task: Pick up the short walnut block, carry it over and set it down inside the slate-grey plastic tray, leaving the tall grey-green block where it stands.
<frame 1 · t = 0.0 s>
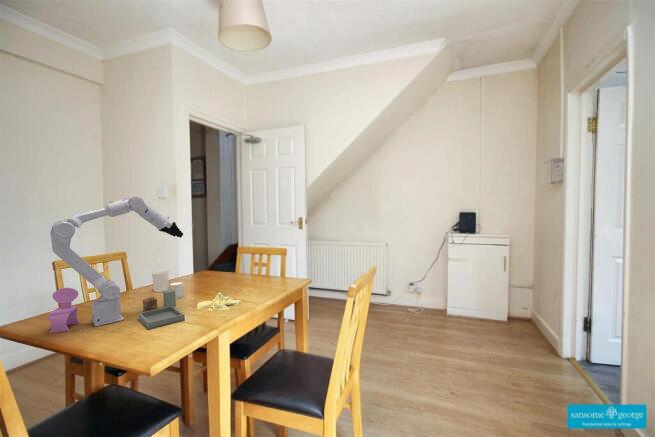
hand: (179, 235, 145), 32 cm above the table, tool tilted 50°, fingers open, 7 cm apart
tray: (161, 319, 127), on the table
tall block: (169, 306, 145), on the table
shot glass: (177, 297, 158), on the table
white cup: (161, 290, 172), on the table
toy chair: (65, 328, 120), on the table
cloth: (220, 306, 145), on the table
short block: (150, 310, 139), on the table
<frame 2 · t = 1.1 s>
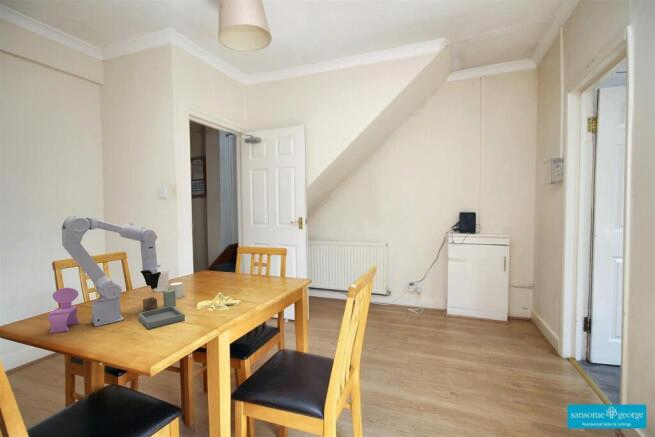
hand: (151, 286, 139), 10 cm above the table, tool pointing down, fingers open, 7 cm apart
nothing on the table moved.
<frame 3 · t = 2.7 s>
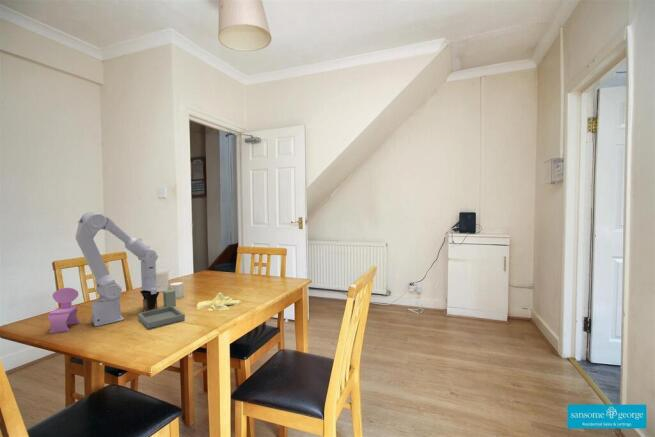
hand: (150, 307, 139), 1 cm above the table, tool pointing down, fingers closed on short block, 4 cm apart
short block: (150, 310, 139), on the table, touching gripper
everything else where it was.
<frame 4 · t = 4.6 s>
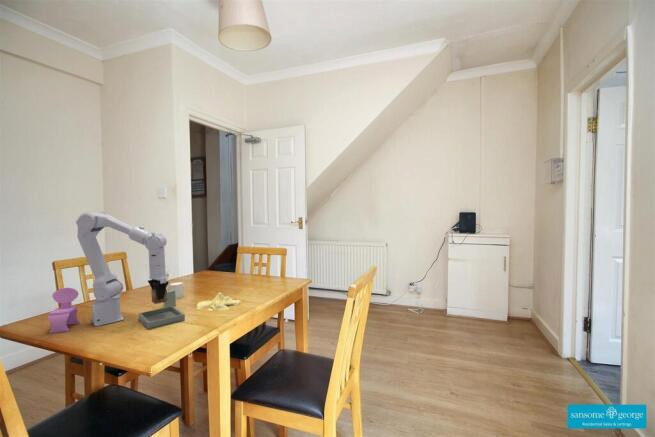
hand: (158, 297, 129), 8 cm above the table, tool pointing down, fingers closed on short block, 4 cm apart
short block: (159, 301, 129), point 7 cm above the table, touching gripper
everything else where it was.
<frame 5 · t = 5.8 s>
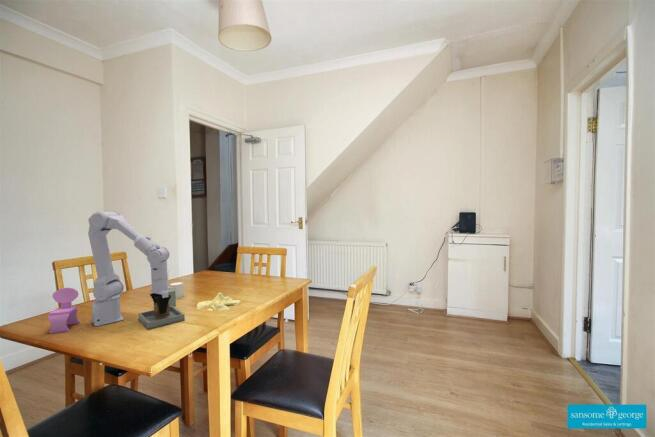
hand: (161, 311, 127), 3 cm above the table, tool pointing down, fingers closed on short block, 4 cm apart
short block: (161, 315, 127), point 2 cm above the table, touching gripper
everything else where it was.
when the fingers open (3 cm above the table, at t = 6.7 s): short block stays where it is, resting on tray.
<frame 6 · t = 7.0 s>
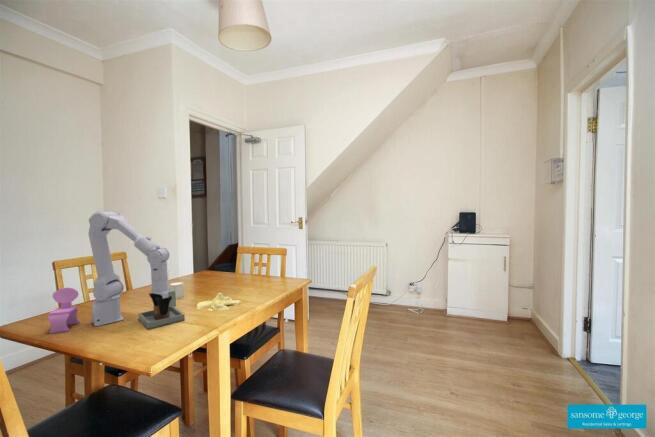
hand: (161, 312, 127), 3 cm above the table, tool pointing down, fingers open, 7 cm apart
short block: (161, 318, 127), point 1 cm above the table, touching tray
everything else where it was.
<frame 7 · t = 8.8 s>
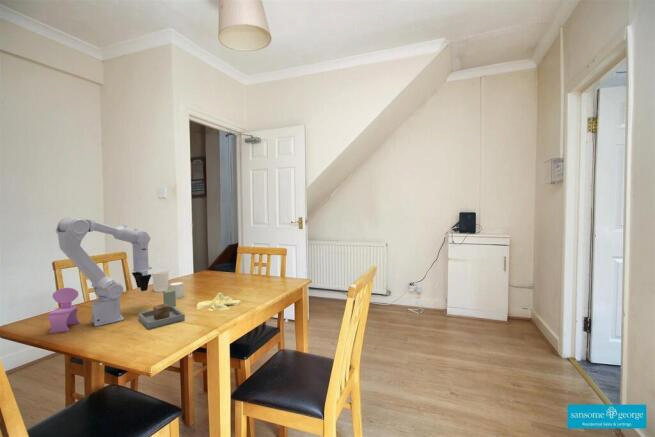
hand: (142, 289, 139), 9 cm above the table, tool pointing down, fingers open, 7 cm apart
nothing on the table moved.
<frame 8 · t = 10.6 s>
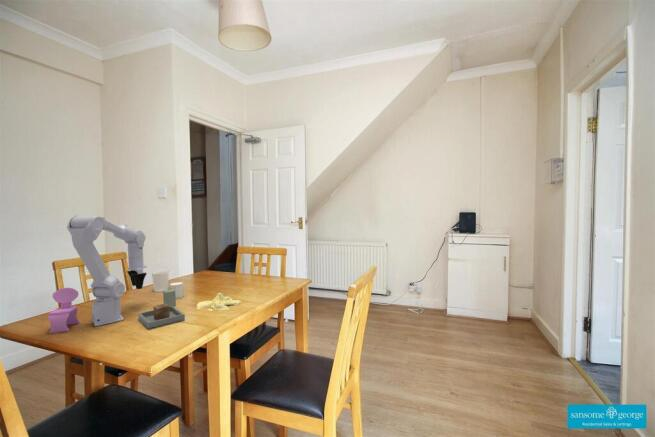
hand: (137, 287, 143), 9 cm above the table, tool pointing down, fingers open, 7 cm apart
nothing on the table moved.
at the end: short block inside the target area on the tray (0.2 cm from its centre), point 0.6 cm above the tray's base; short block tilted 0°; tall block moved 0.1 cm from its start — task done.
